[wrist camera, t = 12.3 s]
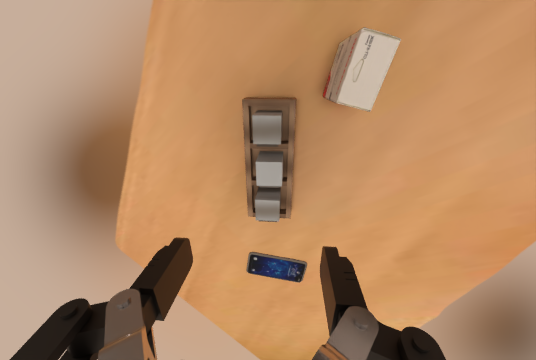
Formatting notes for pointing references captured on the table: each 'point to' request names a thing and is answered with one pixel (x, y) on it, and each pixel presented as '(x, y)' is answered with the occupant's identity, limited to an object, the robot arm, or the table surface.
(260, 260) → the smartphone
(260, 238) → the table surface
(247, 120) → the wooden compartment tray
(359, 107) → the ink box
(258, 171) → the grey cube
